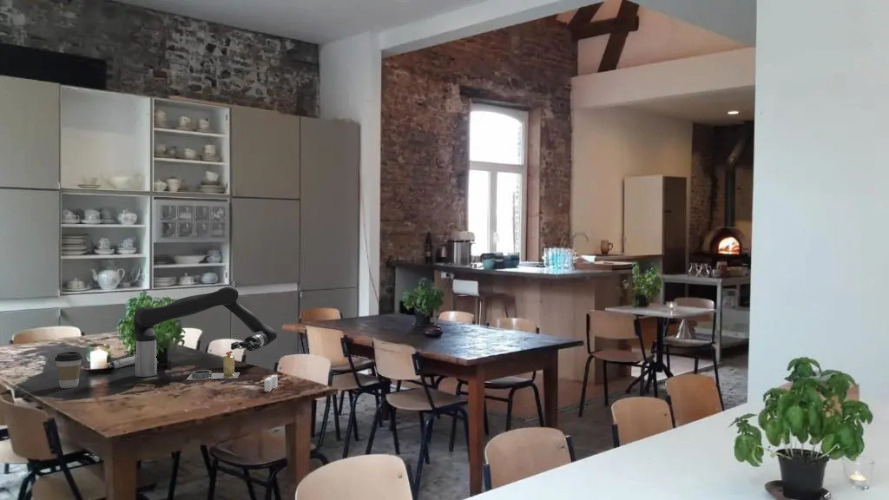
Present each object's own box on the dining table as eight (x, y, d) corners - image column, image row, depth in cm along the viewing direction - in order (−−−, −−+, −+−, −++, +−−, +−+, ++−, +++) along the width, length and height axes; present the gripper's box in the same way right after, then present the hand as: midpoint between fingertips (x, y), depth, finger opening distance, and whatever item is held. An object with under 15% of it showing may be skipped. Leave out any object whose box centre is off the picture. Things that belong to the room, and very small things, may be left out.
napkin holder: (267, 394, 319) (267, 381, 319) (251, 390, 326) (251, 377, 326) (293, 387, 331) (293, 375, 331) (277, 384, 338) (277, 372, 338)
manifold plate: (186, 382, 339) (186, 375, 339) (191, 376, 352) (191, 369, 351) (237, 381, 343) (237, 373, 343) (240, 375, 356) (240, 368, 355)
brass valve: (223, 376, 345) (222, 353, 345) (224, 374, 350) (224, 351, 350) (233, 376, 346) (233, 352, 346) (235, 374, 351) (234, 350, 351)
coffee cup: (88, 384, 333) (88, 352, 333) (68, 390, 323) (68, 356, 322) (69, 382, 337) (69, 350, 336) (48, 387, 326) (48, 354, 326)
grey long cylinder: (108, 361, 371) (151, 347, 391) (110, 373, 372) (153, 359, 392) (114, 362, 368) (157, 348, 388) (116, 375, 369) (159, 360, 389)
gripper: (240, 334, 376) (226, 340, 360) (266, 335, 374) (253, 340, 358) (241, 349, 376) (226, 355, 360) (267, 349, 374) (253, 355, 358)
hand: (240, 348), depth 359 cm, fingers open, 8 cm apart
